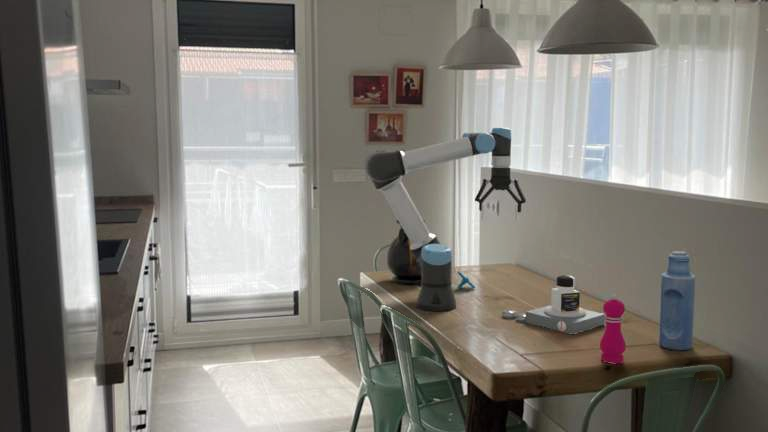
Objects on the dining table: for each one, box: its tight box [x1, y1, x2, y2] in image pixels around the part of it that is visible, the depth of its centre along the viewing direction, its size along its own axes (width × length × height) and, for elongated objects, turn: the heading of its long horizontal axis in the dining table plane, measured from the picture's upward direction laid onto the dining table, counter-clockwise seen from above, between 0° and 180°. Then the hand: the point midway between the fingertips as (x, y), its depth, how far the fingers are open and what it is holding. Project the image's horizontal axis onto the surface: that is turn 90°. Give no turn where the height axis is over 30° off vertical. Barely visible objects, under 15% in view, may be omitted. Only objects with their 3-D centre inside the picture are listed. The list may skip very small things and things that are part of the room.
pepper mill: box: [599, 294, 627, 364], centre depth 206 cm, size 7×7×20 cm
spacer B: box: [516, 313, 526, 323], centre depth 252 cm, size 5×5×2 cm
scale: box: [525, 305, 606, 334], centre depth 246 cm, size 18×20×5 cm
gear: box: [457, 271, 476, 290], centre depth 302 cm, size 11×6×10 cm
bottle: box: [658, 250, 696, 352], centre depth 219 cm, size 10×10×30 cm
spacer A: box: [502, 309, 518, 320], centre depth 257 cm, size 5×5×2 cm
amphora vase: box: [385, 218, 426, 286], centre depth 315 cm, size 22×22×28 cm
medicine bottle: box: [550, 274, 581, 313], centre depth 246 cm, size 7×7×12 cm
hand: (499, 219), depth 283 cm, fingers open, 13 cm apart
